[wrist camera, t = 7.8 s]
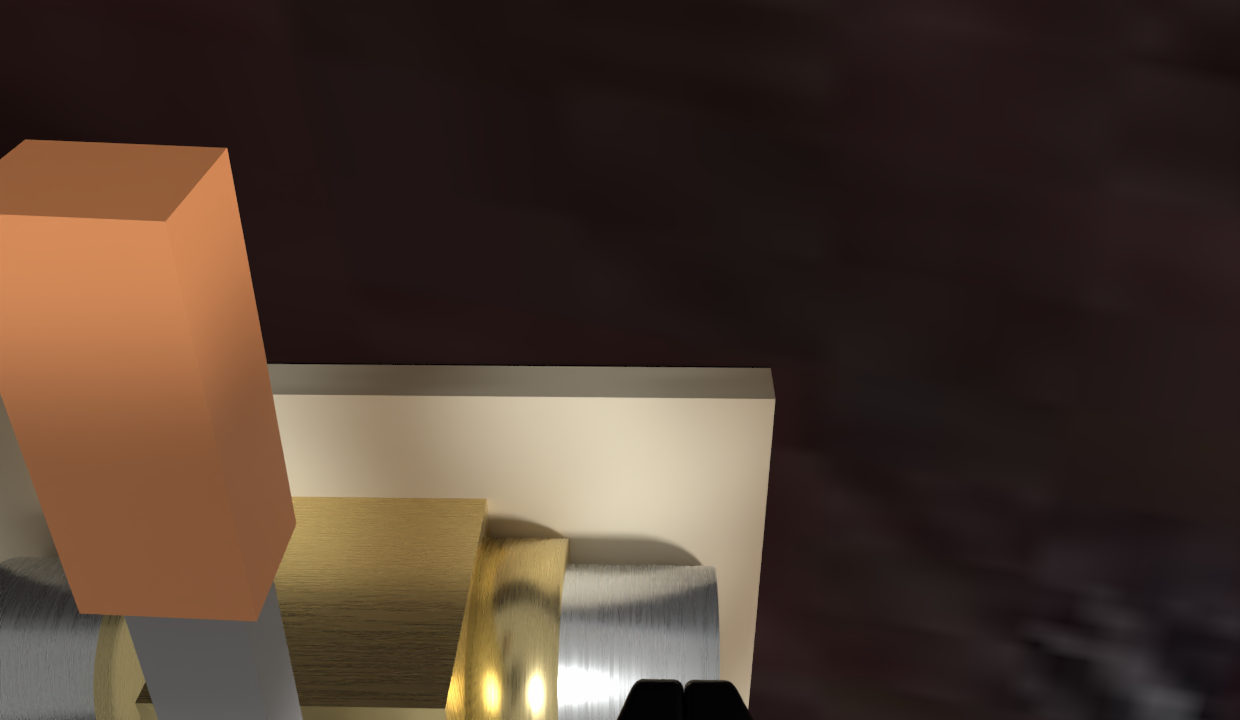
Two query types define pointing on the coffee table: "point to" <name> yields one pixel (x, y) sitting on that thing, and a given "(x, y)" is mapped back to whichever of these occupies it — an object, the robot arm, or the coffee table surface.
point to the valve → (396, 624)
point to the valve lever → (150, 412)
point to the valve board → (528, 462)
